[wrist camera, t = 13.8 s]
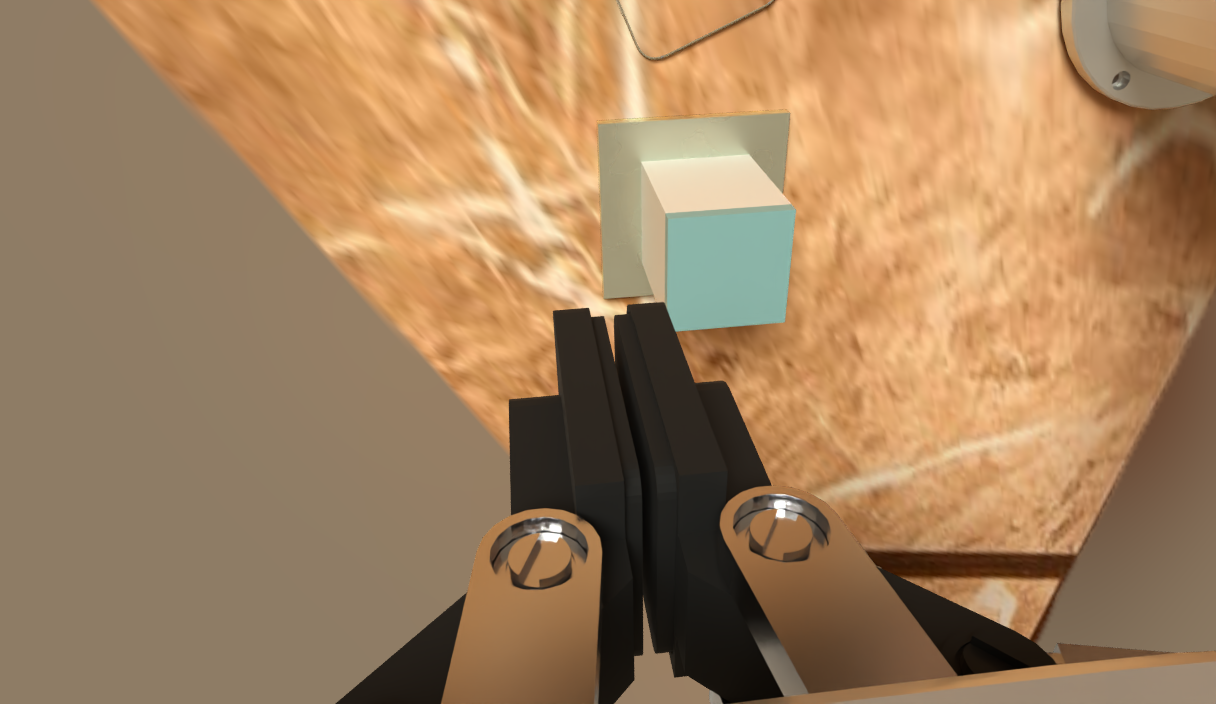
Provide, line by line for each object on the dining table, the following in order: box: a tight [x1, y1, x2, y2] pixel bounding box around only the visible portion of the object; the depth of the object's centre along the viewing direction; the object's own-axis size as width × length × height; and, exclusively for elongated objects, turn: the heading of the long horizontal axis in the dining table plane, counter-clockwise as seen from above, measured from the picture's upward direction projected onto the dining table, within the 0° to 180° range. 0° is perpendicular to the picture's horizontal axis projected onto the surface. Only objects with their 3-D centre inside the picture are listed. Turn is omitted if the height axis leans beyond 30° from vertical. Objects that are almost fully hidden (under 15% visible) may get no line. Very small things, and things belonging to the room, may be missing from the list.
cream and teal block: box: [641, 155, 796, 332], centre depth 37 cm, size 5×5×7 cm
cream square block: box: [597, 109, 790, 299], centre depth 37 cm, size 9×9×6 cm
